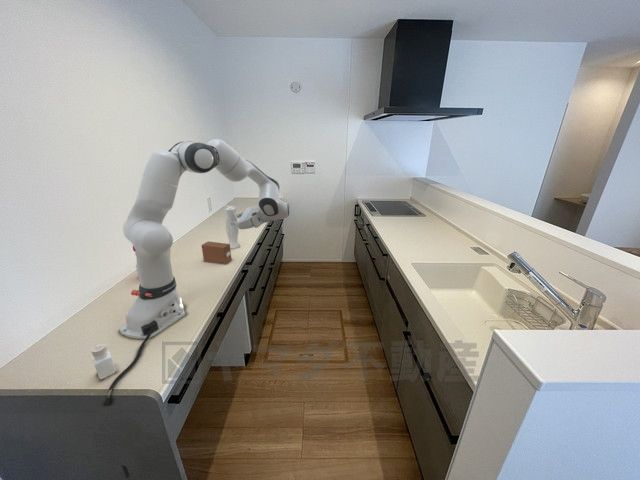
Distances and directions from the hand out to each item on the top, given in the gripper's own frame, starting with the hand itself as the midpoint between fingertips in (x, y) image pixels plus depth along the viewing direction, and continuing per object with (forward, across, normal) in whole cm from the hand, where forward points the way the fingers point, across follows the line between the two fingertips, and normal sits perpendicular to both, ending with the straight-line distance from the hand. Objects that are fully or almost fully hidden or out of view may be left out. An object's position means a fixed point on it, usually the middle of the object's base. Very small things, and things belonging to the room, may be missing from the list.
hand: (234, 219), depth 138 cm
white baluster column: (+17, -21, +27) cm, 38 cm away
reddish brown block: (+19, -1, +23) cm, 30 cm away
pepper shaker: (+21, +76, +11) cm, 80 cm away
